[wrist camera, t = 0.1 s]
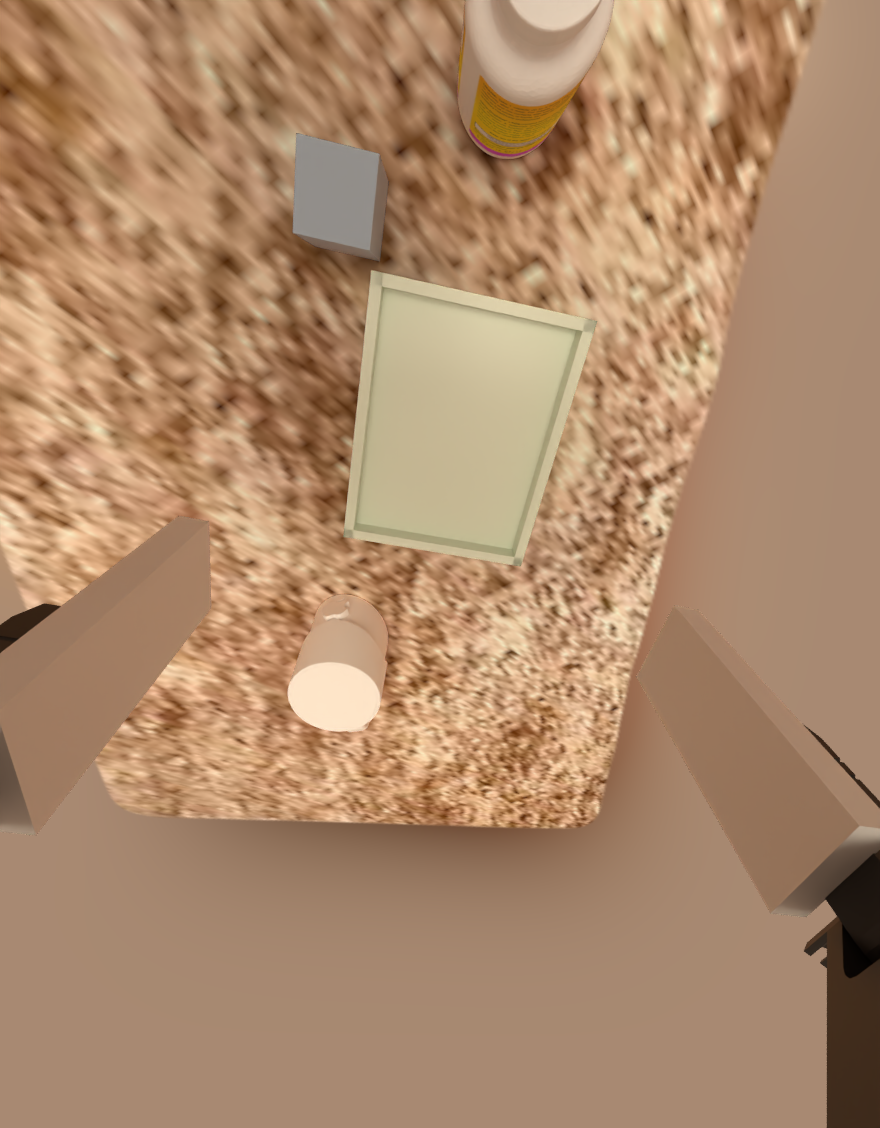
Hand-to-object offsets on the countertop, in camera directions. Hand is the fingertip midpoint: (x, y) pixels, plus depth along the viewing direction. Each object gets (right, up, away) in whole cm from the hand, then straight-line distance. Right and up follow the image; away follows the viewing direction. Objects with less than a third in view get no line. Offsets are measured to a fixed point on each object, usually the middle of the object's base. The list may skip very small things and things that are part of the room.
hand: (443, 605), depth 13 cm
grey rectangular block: (-6, +25, +18) cm, 32 cm away
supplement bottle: (+4, +30, +16) cm, 35 cm away
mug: (-9, -7, +35) cm, 37 cm away
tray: (+1, +12, +25) cm, 28 cm away
